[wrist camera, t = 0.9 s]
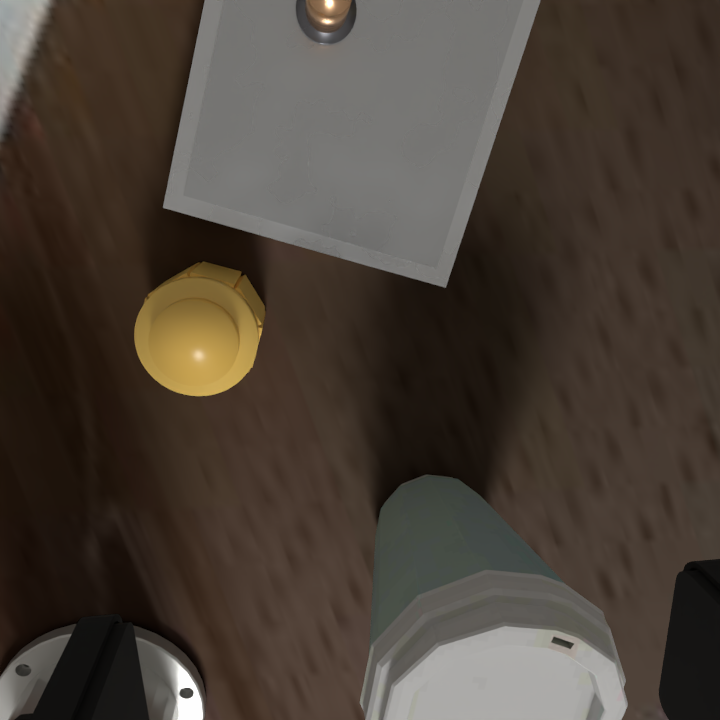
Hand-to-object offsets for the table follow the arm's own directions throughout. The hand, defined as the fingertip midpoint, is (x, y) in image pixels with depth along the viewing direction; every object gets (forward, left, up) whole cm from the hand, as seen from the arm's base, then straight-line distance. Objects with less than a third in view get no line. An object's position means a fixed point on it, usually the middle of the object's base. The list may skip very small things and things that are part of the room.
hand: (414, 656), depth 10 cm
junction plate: (+12, +2, -23) cm, 27 cm away
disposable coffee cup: (-10, -9, -24) cm, 27 cm away
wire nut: (-1, +6, -23) cm, 24 cm away
